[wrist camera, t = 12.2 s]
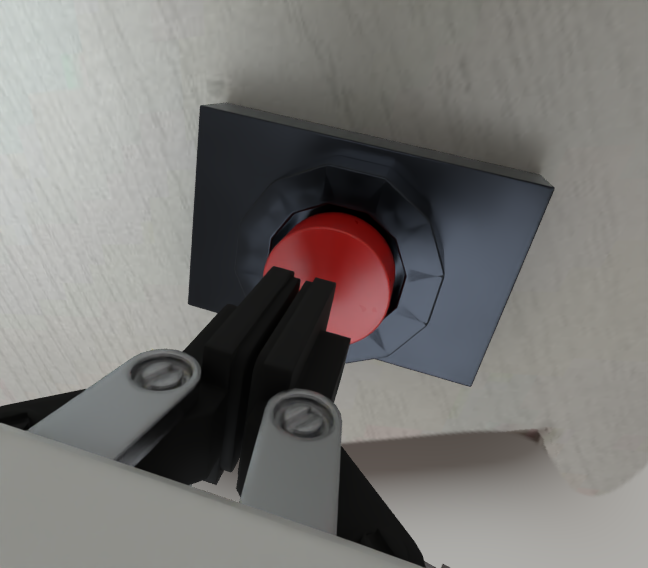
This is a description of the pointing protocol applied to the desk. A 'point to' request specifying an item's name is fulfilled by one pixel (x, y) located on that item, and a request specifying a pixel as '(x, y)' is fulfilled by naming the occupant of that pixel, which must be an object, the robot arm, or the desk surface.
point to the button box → (379, 211)
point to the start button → (342, 268)
